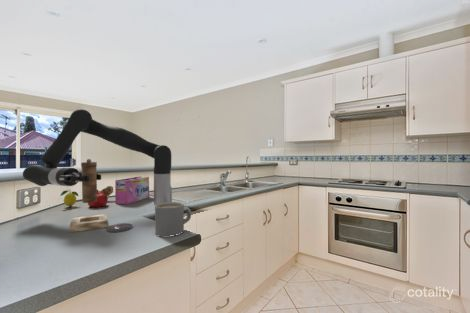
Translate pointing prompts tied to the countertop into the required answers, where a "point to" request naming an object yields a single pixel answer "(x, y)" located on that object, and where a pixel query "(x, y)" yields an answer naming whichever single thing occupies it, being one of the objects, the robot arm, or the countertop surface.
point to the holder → (88, 222)
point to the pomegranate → (99, 200)
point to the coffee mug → (170, 218)
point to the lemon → (69, 198)
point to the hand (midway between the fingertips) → (94, 177)
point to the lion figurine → (107, 190)
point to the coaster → (119, 227)
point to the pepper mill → (89, 182)
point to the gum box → (131, 190)
